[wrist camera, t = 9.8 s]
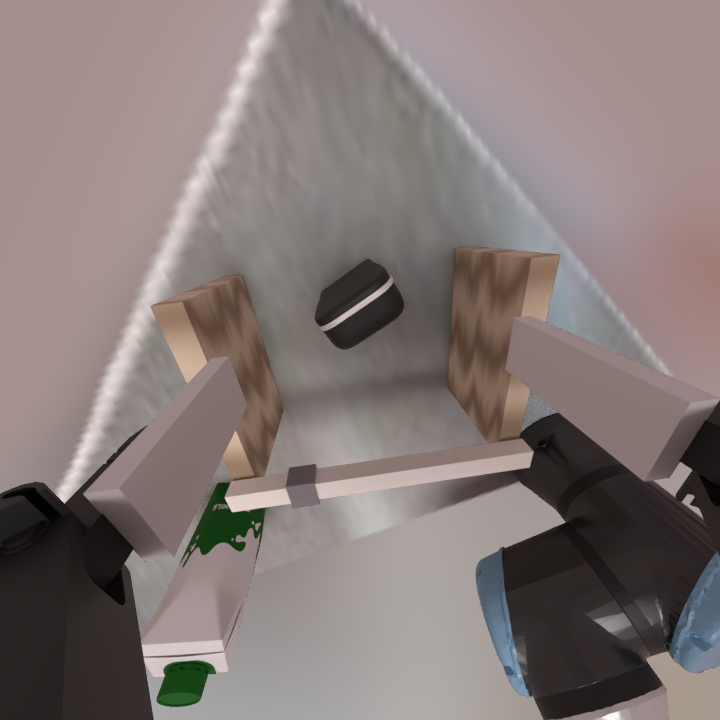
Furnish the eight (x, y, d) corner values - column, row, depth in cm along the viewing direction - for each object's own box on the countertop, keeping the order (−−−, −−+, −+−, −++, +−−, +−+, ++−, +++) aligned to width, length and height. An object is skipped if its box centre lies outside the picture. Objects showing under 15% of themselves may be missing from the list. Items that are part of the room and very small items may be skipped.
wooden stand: (461, 385, 36) (516, 451, 25) (268, 412, 35) (239, 492, 24) (473, 246, 28) (560, 254, 17) (223, 277, 27) (150, 306, 16)
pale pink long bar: (516, 455, 25) (530, 472, 24) (240, 496, 25) (232, 517, 23) (521, 433, 24) (536, 449, 22) (230, 476, 23) (221, 496, 22)
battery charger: (338, 320, 31) (340, 363, 20) (318, 293, 29) (309, 326, 19) (388, 285, 29) (417, 314, 19) (370, 256, 28) (391, 268, 18)
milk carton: (216, 515, 44) (134, 712, 26) (210, 478, 40) (109, 678, 22) (270, 515, 45) (227, 703, 27) (269, 479, 41) (219, 670, 23)
